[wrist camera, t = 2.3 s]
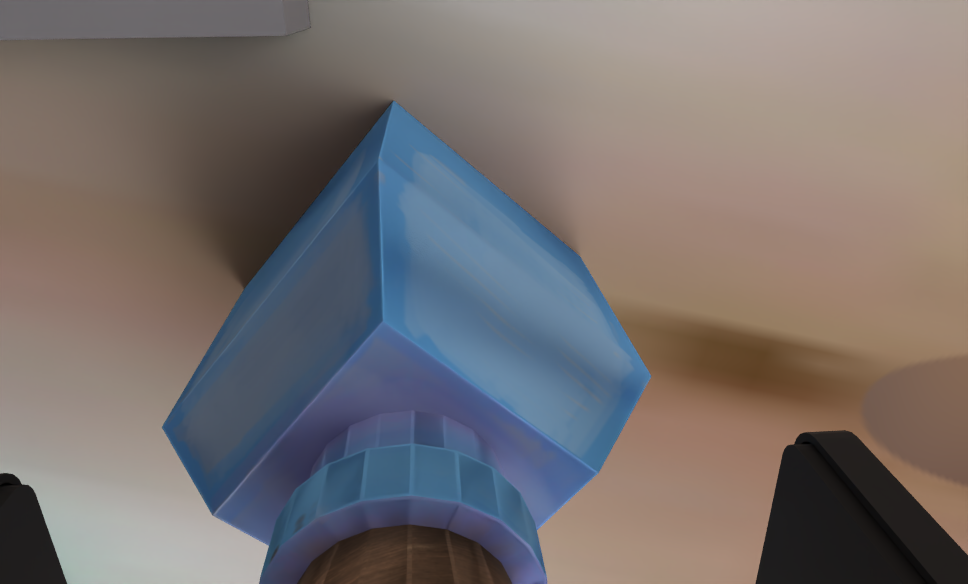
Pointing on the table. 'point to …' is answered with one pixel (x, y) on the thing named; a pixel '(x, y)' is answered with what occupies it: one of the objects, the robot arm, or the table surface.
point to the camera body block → (150, 18)
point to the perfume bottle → (407, 380)
